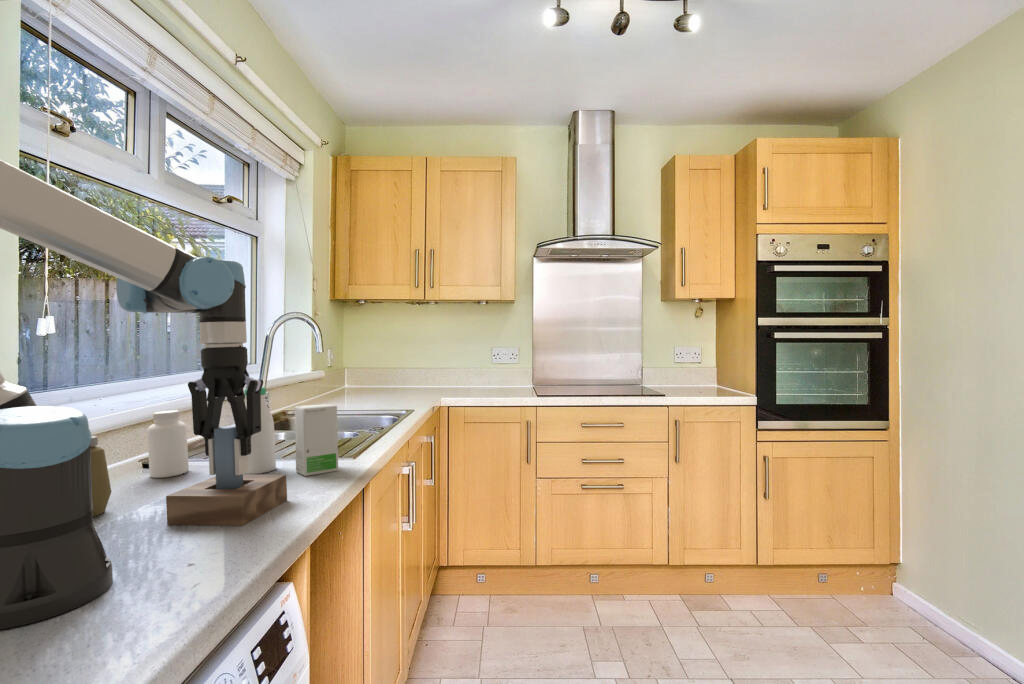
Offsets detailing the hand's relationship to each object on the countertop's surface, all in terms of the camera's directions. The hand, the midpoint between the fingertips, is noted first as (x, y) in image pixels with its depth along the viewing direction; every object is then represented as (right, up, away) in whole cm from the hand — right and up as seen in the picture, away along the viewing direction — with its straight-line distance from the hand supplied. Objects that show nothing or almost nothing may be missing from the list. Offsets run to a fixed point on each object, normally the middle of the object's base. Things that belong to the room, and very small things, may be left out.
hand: (229, 472), depth 99 cm
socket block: (0, -7, 0) cm, 7 cm away
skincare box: (+6, -7, +29) cm, 30 cm away
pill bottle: (-30, -8, +30) cm, 43 cm away
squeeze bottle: (-27, -8, +1) cm, 28 cm away
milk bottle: (-9, -7, +31) cm, 33 cm away
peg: (0, -6, 0) cm, 6 cm away
